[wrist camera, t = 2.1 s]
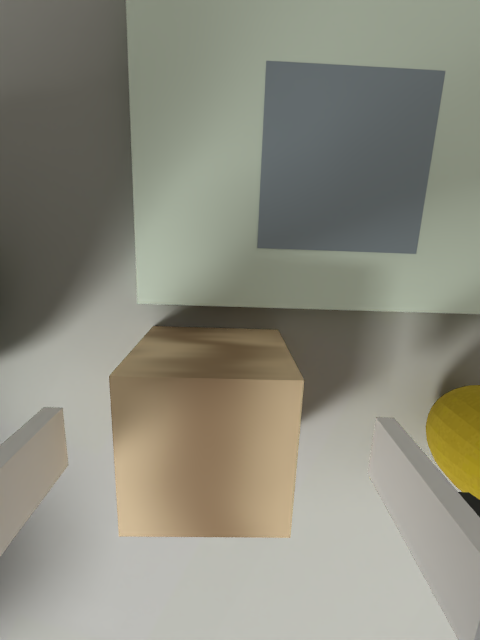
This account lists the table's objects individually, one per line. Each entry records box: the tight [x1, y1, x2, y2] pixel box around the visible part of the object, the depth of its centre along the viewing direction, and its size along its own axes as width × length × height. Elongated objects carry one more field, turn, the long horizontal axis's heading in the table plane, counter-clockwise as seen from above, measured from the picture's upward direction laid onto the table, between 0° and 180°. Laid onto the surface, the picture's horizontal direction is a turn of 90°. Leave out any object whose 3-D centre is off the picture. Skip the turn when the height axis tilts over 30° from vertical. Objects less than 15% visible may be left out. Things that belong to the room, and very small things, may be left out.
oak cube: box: [109, 326, 304, 538], centre depth 16 cm, size 7×7×7 cm
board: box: [126, 0, 480, 314], centre depth 16 cm, size 20×14×1 cm
